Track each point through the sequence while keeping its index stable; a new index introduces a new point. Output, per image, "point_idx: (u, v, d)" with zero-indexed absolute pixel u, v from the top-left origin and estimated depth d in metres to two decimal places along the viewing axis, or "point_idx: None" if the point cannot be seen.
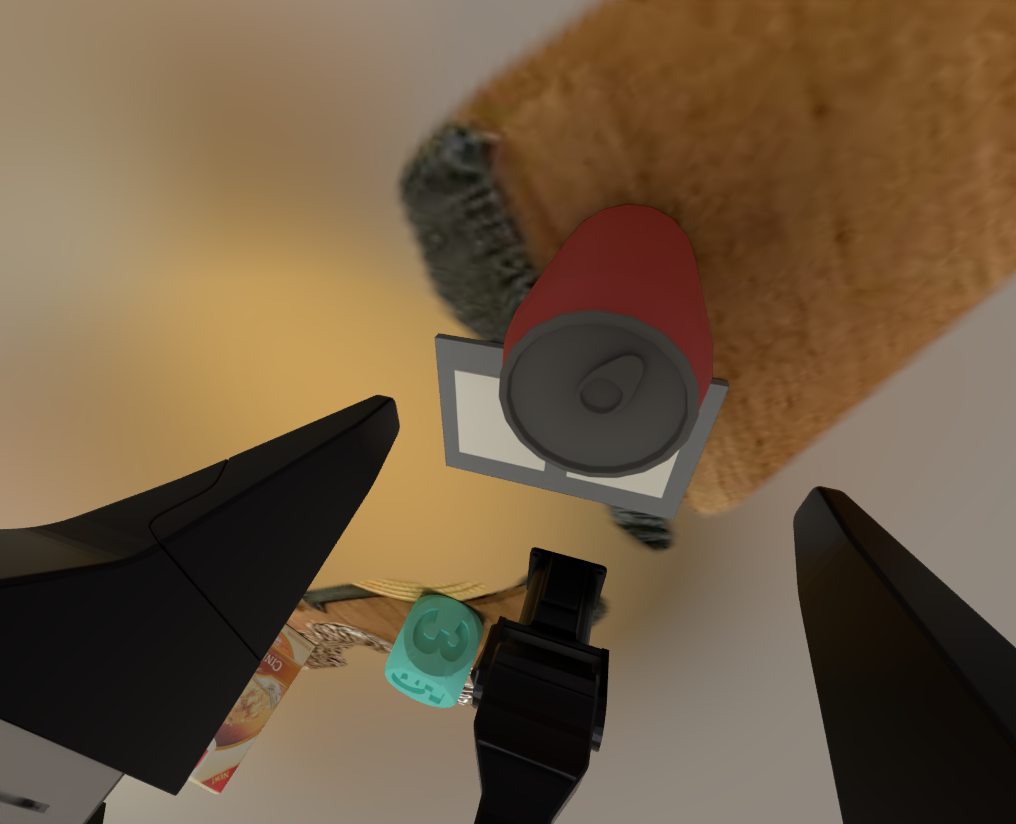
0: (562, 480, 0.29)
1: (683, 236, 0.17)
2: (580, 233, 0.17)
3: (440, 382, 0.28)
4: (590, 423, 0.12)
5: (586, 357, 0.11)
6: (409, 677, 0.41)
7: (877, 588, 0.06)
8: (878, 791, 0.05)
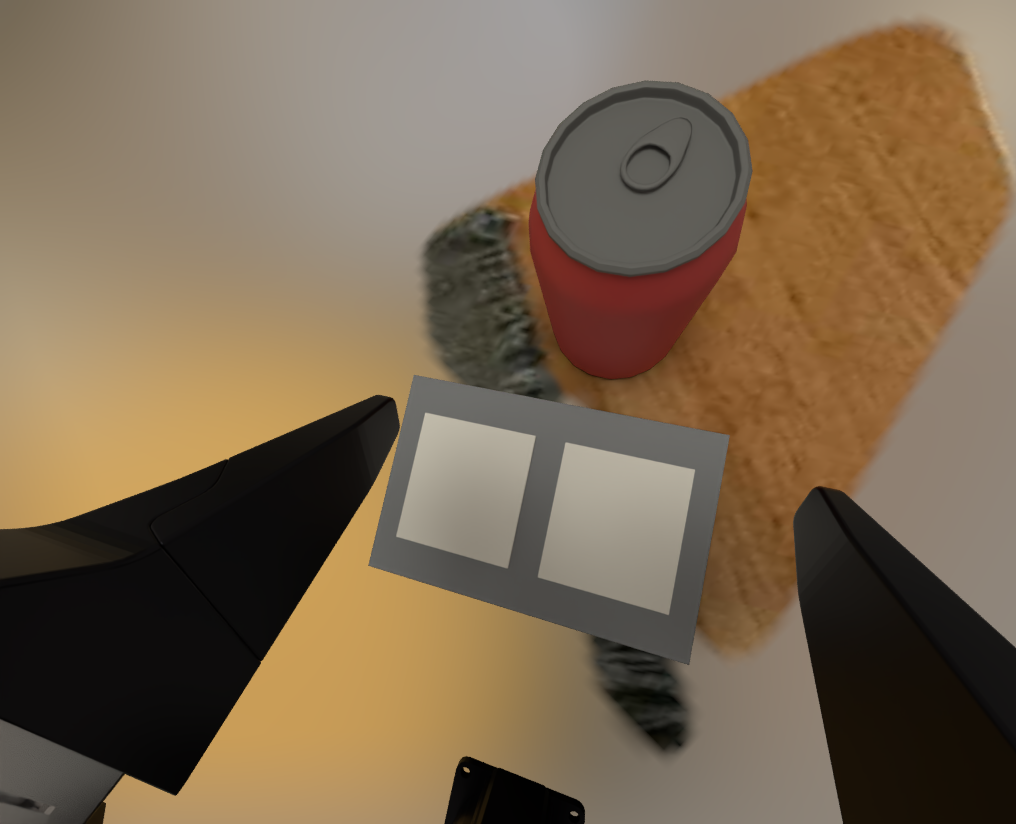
0: (531, 587, 0.21)
1: None
2: None
3: (402, 430, 0.24)
4: (633, 208, 0.11)
5: (632, 134, 0.11)
6: None
7: (877, 588, 0.06)
8: (878, 791, 0.05)
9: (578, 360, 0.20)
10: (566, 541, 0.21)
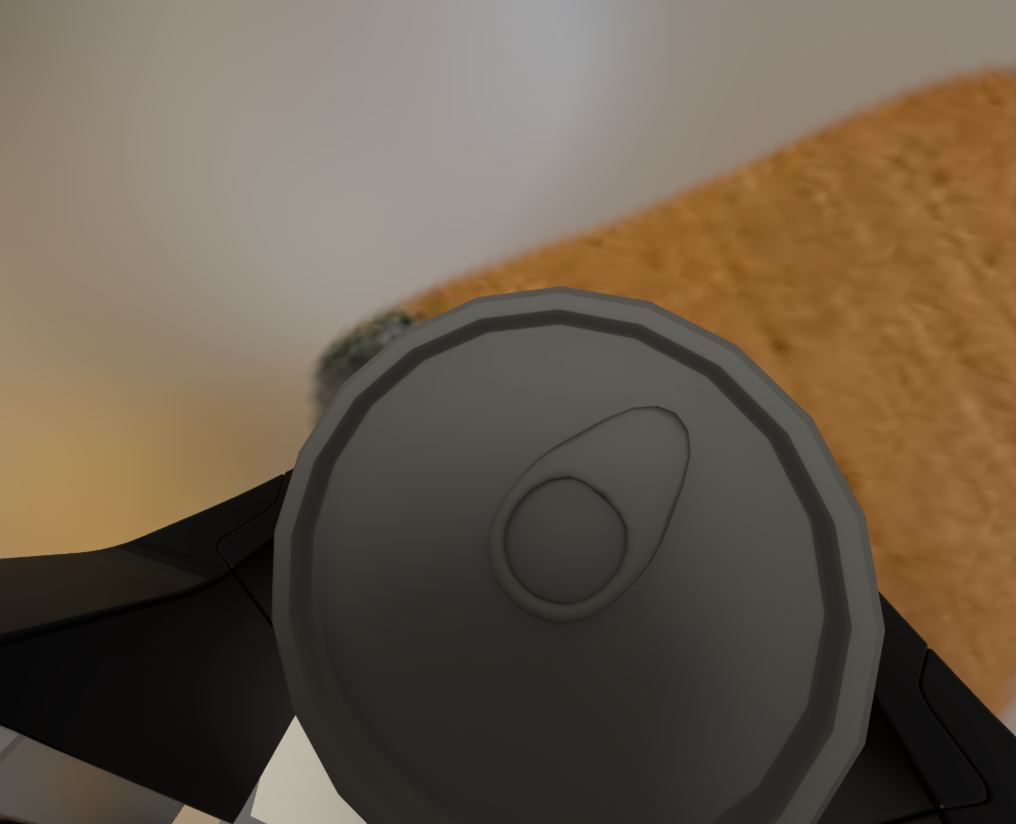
0: None
1: None
2: None
3: None
4: (524, 655, 0.04)
5: (529, 424, 0.04)
6: None
7: None
8: None
9: None
10: None
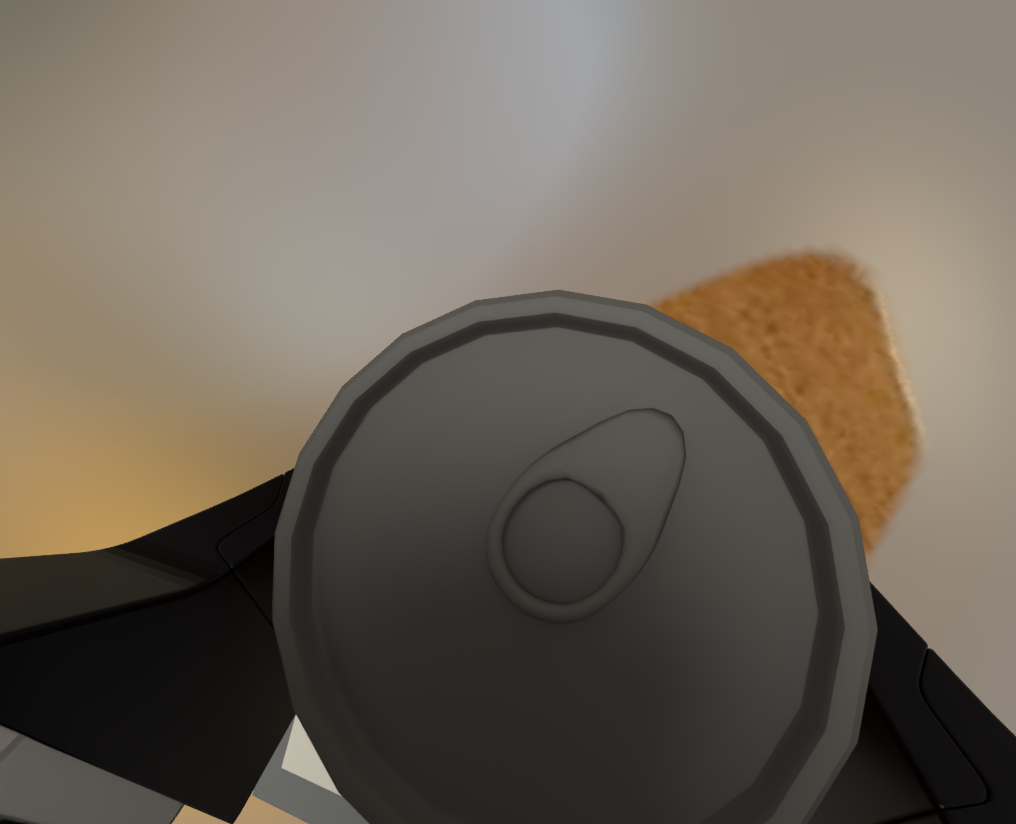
0: None
1: None
2: None
3: None
4: (522, 654, 0.04)
5: (526, 427, 0.04)
6: None
7: None
8: None
9: None
10: None
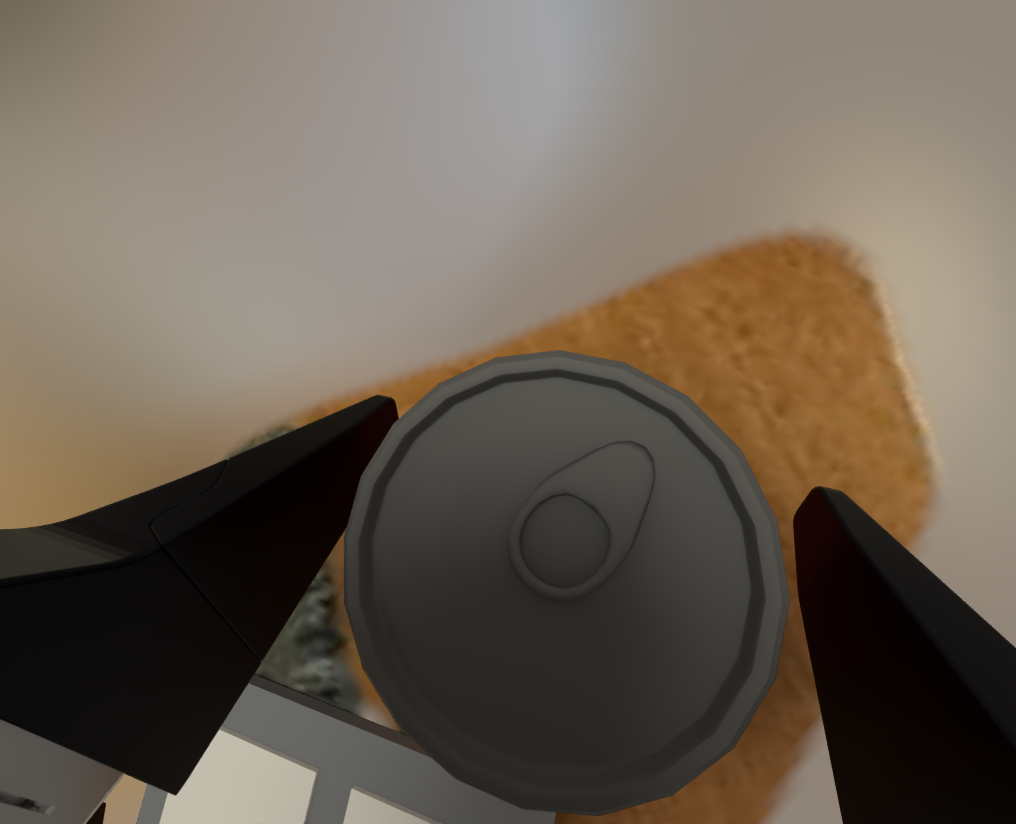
0: None
1: None
2: None
3: None
4: (536, 625, 0.05)
5: (535, 453, 0.06)
6: None
7: (877, 588, 0.06)
8: (878, 791, 0.05)
9: None
10: None
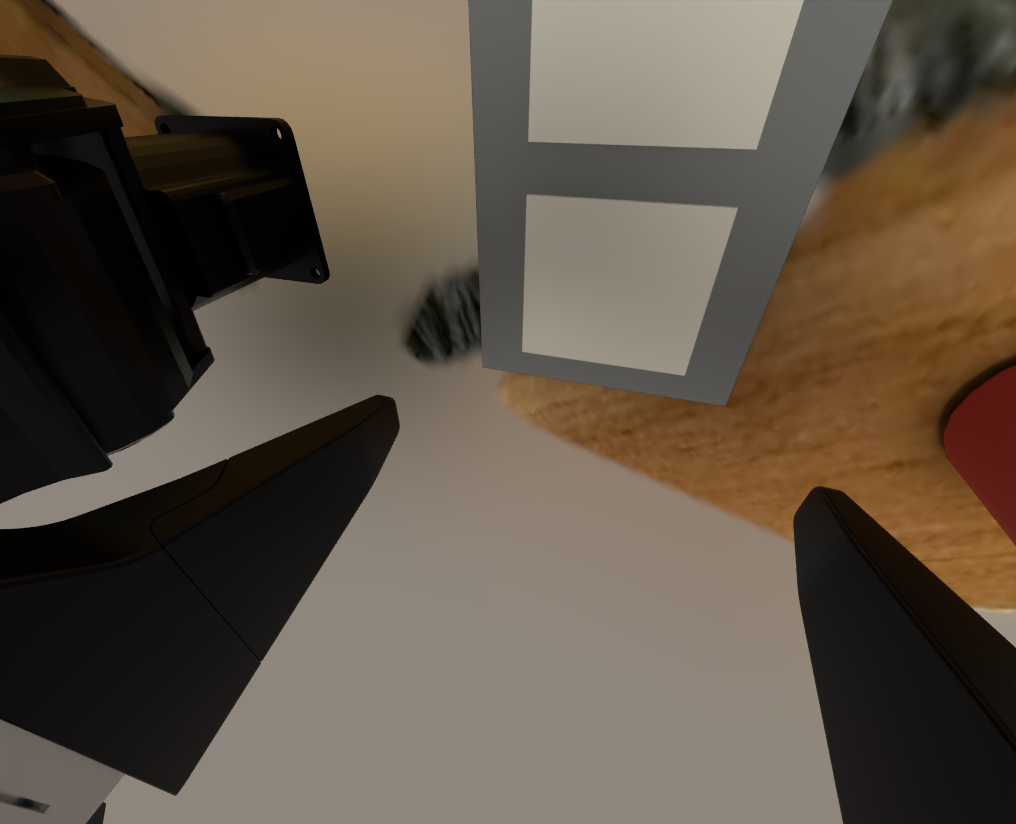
0: (510, 185, 0.15)
1: None
2: None
3: None
4: None
5: None
6: None
7: (877, 588, 0.06)
8: (878, 791, 0.05)
9: None
10: (581, 230, 0.15)
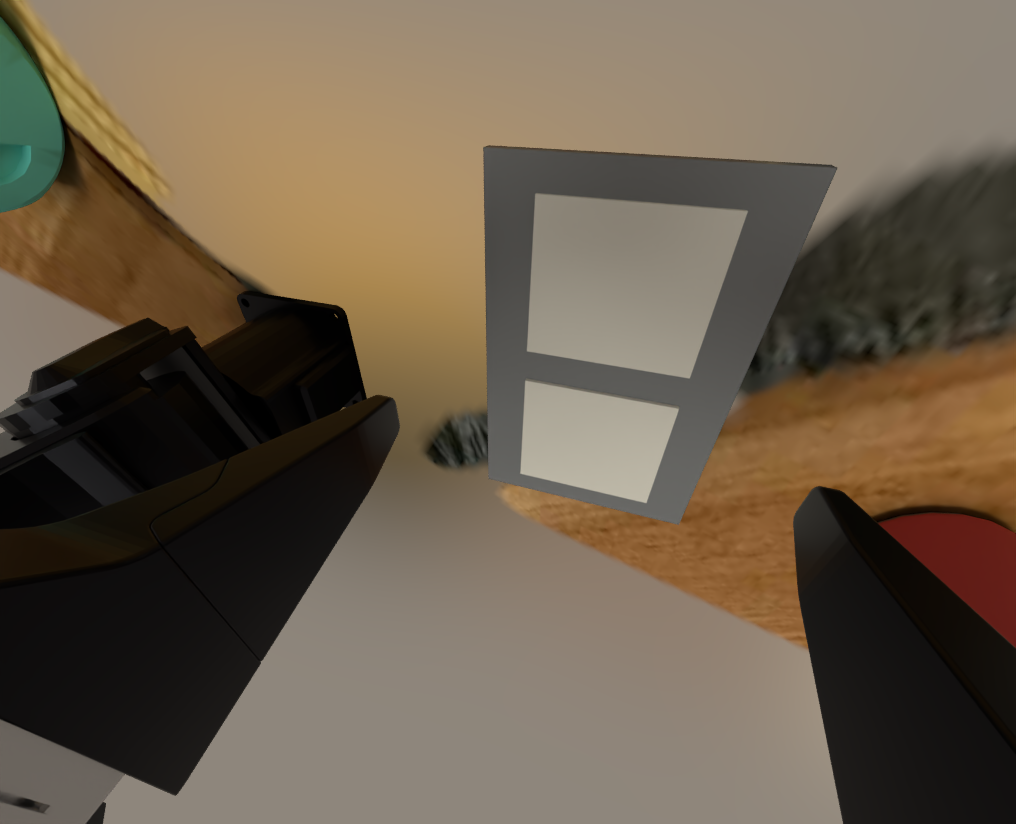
0: (513, 371, 0.20)
1: None
2: None
3: (716, 165, 0.13)
4: None
5: None
6: None
7: (877, 588, 0.06)
8: (878, 791, 0.05)
9: None
10: (566, 406, 0.20)
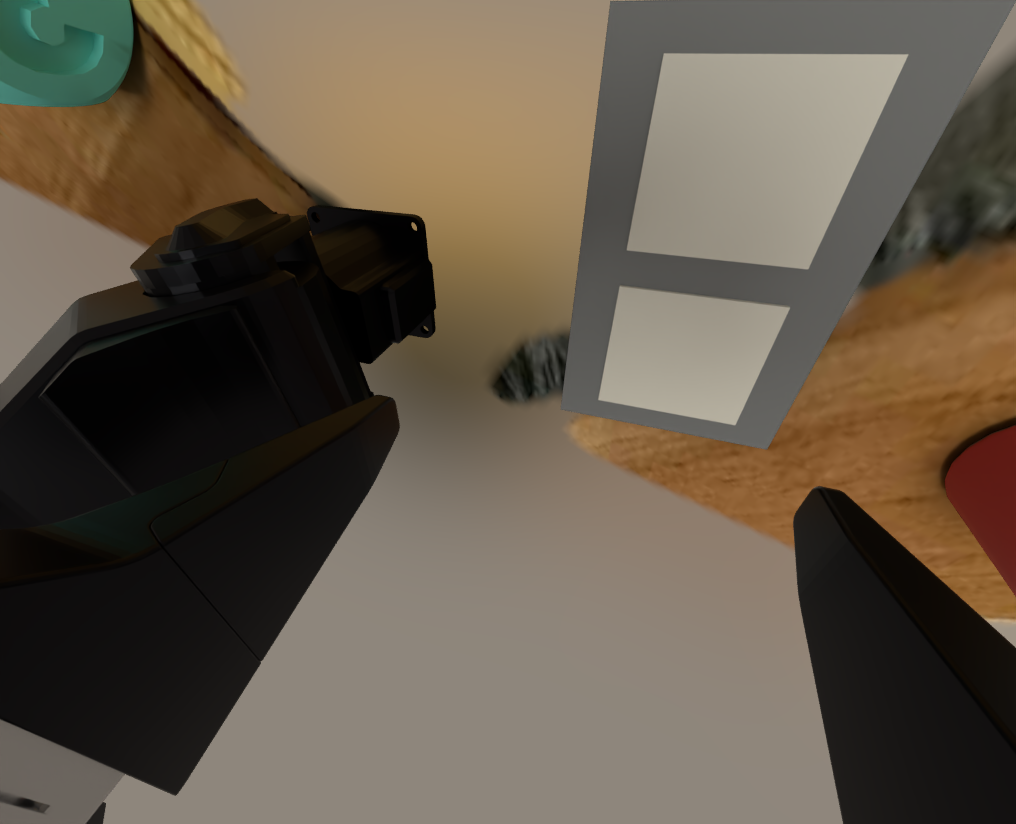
0: (606, 278, 0.19)
1: None
2: None
3: (878, 1, 0.12)
4: None
5: None
6: None
7: (877, 588, 0.06)
8: (878, 791, 0.05)
9: (1009, 469, 0.17)
10: (661, 314, 0.19)
